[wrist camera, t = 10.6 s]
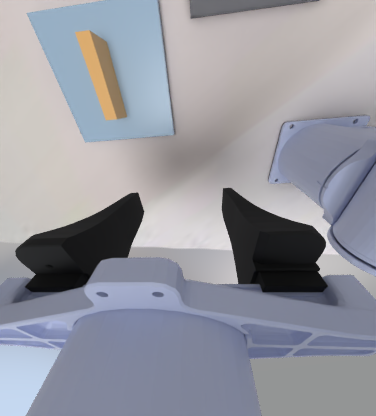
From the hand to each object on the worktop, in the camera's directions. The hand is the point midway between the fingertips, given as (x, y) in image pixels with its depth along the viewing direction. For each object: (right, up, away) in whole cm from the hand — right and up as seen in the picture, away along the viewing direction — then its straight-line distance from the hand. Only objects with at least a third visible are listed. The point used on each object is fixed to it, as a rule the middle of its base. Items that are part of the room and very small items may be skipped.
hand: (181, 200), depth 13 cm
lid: (-7, +13, +4) cm, 16 cm away
